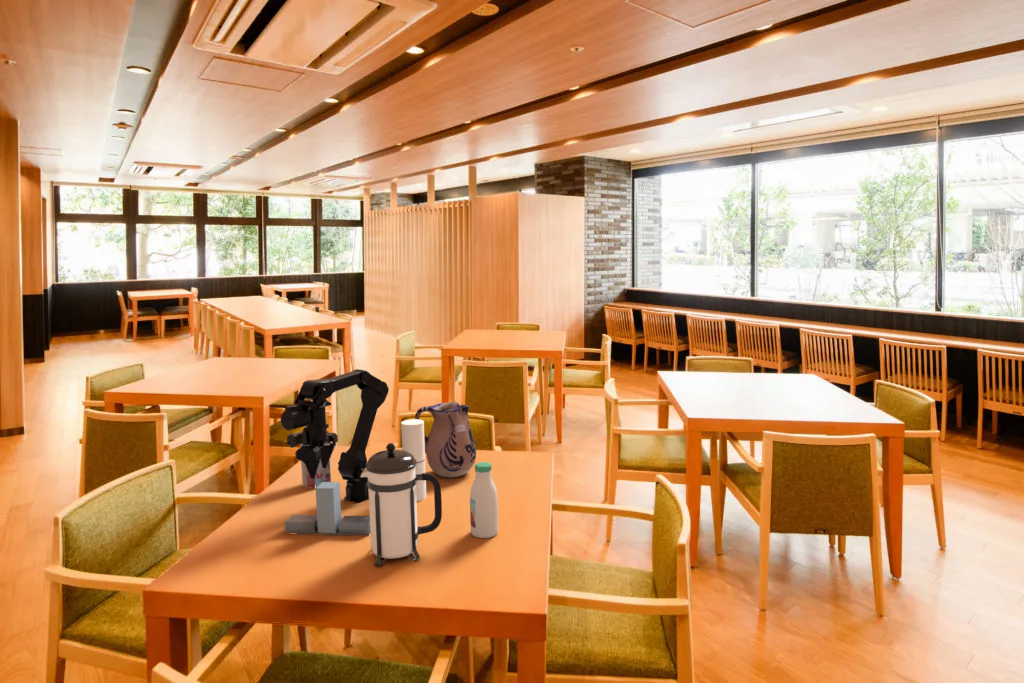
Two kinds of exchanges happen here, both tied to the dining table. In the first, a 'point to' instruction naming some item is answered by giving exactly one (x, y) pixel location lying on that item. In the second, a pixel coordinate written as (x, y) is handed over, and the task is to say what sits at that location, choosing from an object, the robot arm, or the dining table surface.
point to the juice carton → (321, 474)
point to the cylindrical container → (415, 450)
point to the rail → (346, 527)
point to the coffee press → (396, 504)
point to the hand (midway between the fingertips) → (318, 473)
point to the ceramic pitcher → (449, 440)
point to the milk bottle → (483, 503)
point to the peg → (328, 507)
